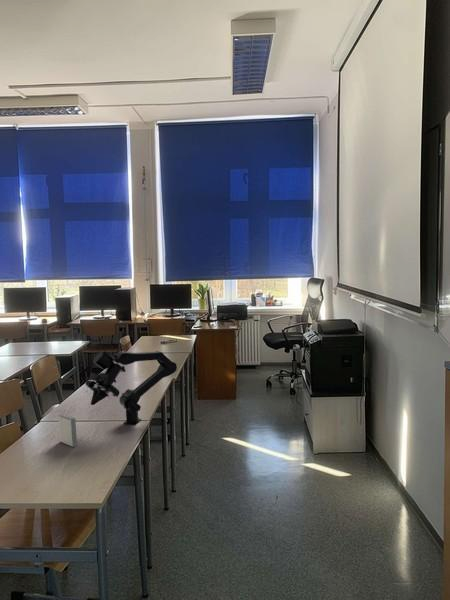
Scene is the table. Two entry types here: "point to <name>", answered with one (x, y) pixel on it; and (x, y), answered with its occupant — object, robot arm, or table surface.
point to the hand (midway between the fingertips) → (91, 404)
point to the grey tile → (67, 430)
